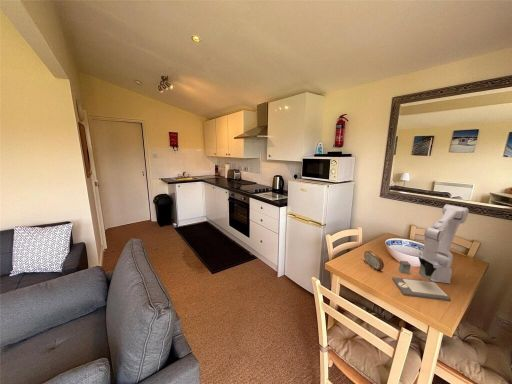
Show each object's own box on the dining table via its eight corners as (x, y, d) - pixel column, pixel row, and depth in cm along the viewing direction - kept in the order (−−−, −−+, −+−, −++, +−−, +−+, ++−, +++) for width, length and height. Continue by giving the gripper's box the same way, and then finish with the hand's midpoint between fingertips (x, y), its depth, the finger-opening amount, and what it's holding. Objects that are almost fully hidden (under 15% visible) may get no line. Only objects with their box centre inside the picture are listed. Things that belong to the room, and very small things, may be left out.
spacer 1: (405, 270, 133) (407, 261, 132) (409, 273, 129) (410, 264, 128) (398, 269, 134) (400, 260, 132) (401, 273, 130) (403, 264, 129)
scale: (433, 283, 120) (433, 280, 119) (450, 301, 106) (450, 297, 106) (392, 279, 124) (392, 276, 123) (403, 295, 110) (404, 292, 110)
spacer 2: (427, 274, 117) (429, 264, 116) (431, 278, 113) (433, 268, 112) (418, 273, 118) (420, 263, 117) (422, 277, 114) (424, 267, 113)
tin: (383, 272, 130) (385, 259, 129) (378, 272, 130) (380, 260, 128) (366, 259, 145) (368, 248, 143) (362, 260, 144) (364, 248, 143)
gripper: (415, 243, 120) (411, 265, 123) (429, 255, 106) (425, 280, 109) (429, 244, 119) (424, 266, 122) (446, 257, 105) (440, 281, 108)
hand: (425, 273), depth 115 cm, fingers closed on spacer 2, 4 cm apart
